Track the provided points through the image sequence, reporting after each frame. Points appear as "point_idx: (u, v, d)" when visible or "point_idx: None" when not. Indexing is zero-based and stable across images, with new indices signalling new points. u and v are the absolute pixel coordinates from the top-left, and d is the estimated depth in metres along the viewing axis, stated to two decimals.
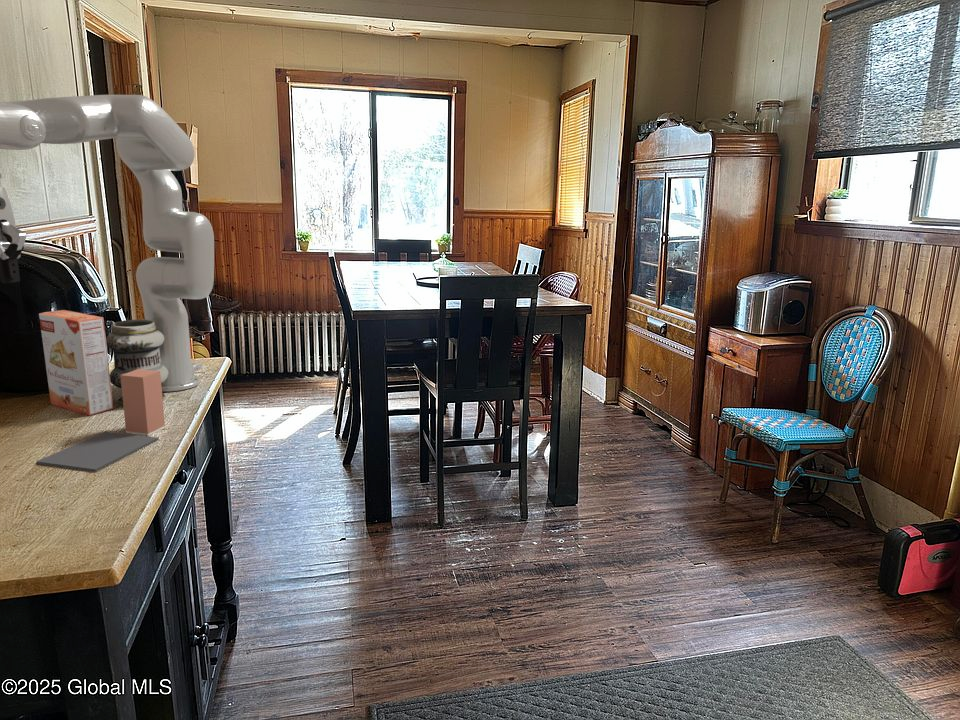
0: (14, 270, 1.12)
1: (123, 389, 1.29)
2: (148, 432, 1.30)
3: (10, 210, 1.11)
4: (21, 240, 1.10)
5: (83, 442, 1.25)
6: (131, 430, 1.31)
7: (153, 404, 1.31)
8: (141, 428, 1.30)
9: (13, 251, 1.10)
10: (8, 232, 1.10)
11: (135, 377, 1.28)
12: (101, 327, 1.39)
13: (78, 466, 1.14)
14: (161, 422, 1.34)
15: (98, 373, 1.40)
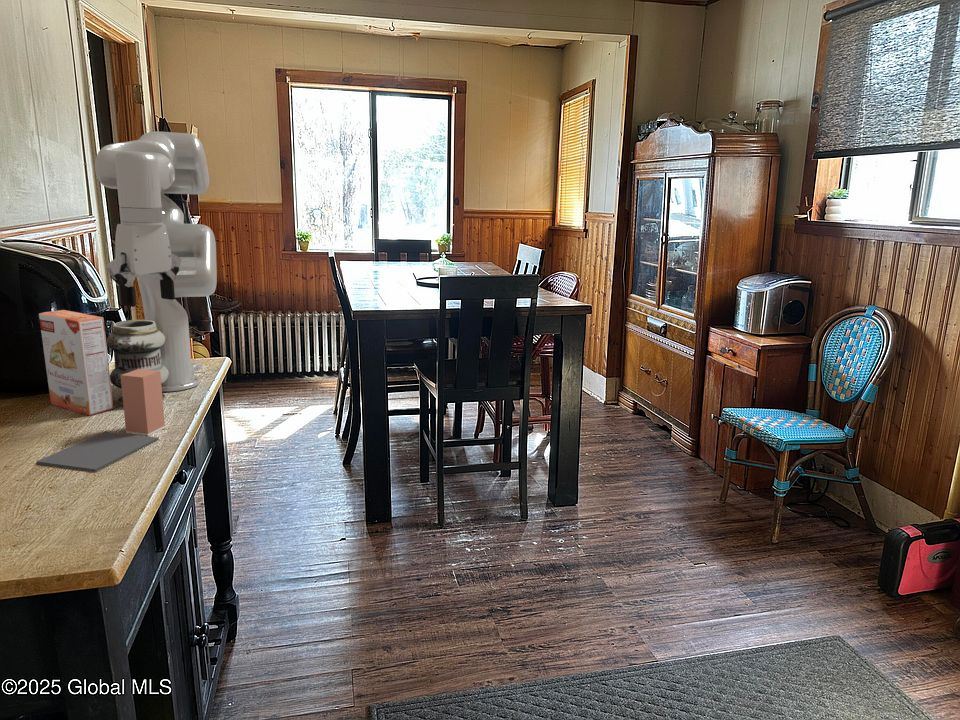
0: None
1: (123, 389, 1.29)
2: (148, 432, 1.30)
3: None
4: None
5: (83, 442, 1.25)
6: (131, 430, 1.31)
7: (153, 404, 1.31)
8: (141, 428, 1.30)
9: (177, 272, 1.39)
10: (172, 258, 1.38)
11: (135, 377, 1.28)
12: (101, 327, 1.39)
13: (78, 466, 1.14)
14: (161, 422, 1.34)
15: (98, 373, 1.40)
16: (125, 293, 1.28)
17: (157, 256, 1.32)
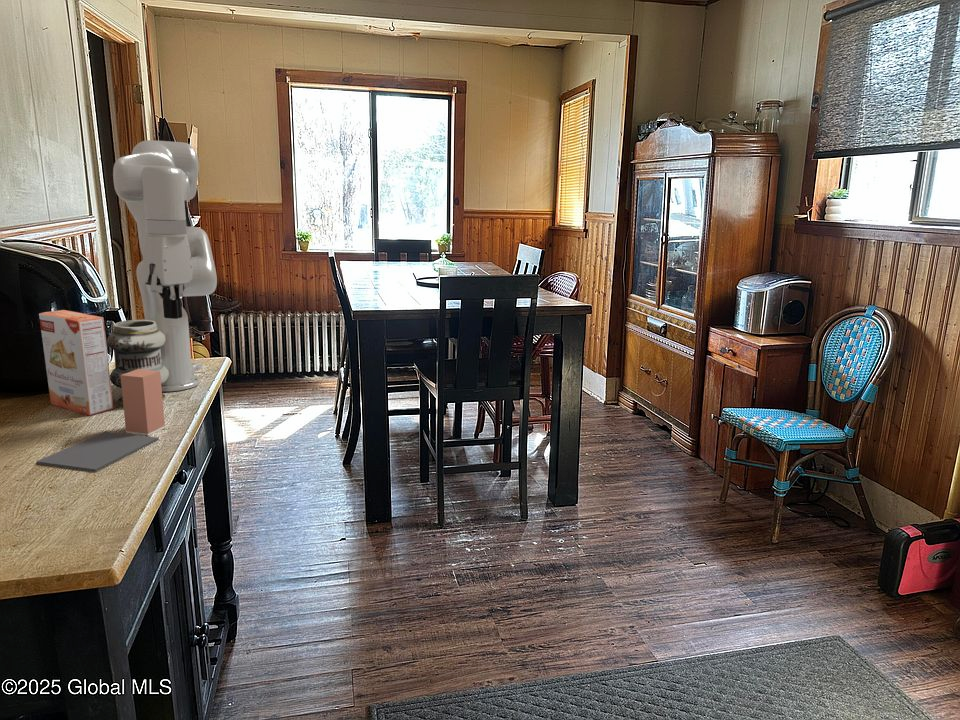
0: None
1: (123, 389, 1.29)
2: (148, 432, 1.30)
3: None
4: None
5: (83, 442, 1.25)
6: (131, 430, 1.31)
7: (153, 404, 1.31)
8: (141, 428, 1.30)
9: (182, 290, 1.39)
10: None
11: (135, 377, 1.28)
12: (101, 327, 1.39)
13: (78, 466, 1.14)
14: (161, 422, 1.34)
15: (98, 373, 1.40)
16: (169, 306, 1.36)
17: (182, 267, 1.36)
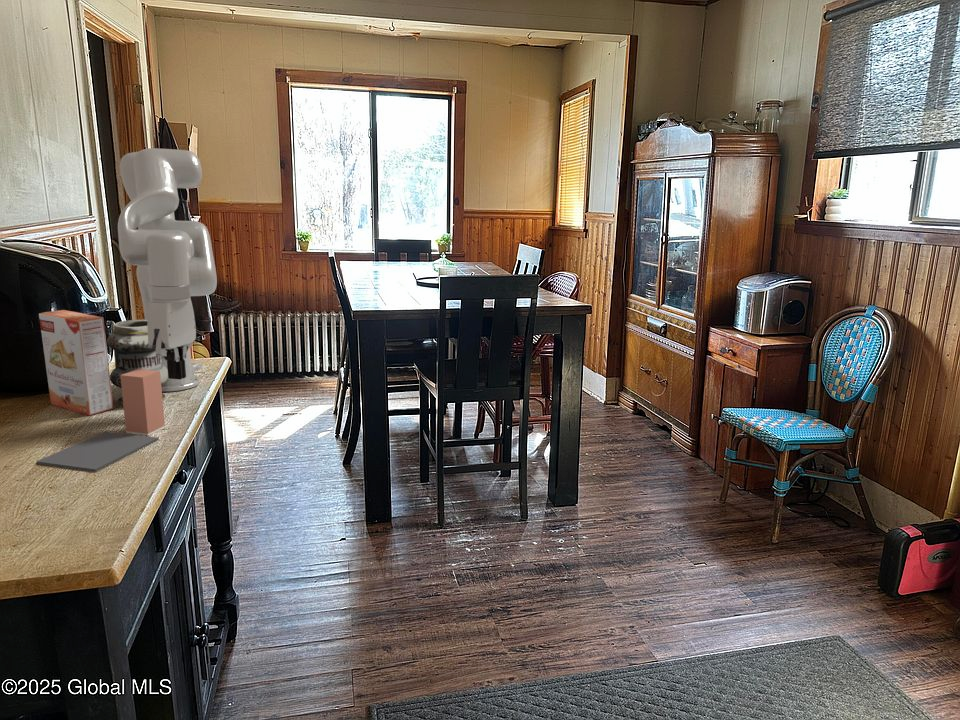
0: None
1: (123, 389, 1.29)
2: (148, 432, 1.30)
3: None
4: None
5: (83, 442, 1.25)
6: (131, 430, 1.31)
7: (153, 404, 1.31)
8: (141, 428, 1.30)
9: None
10: None
11: (135, 377, 1.28)
12: (101, 327, 1.39)
13: (78, 466, 1.14)
14: (161, 422, 1.34)
15: (98, 373, 1.40)
16: (174, 367, 1.39)
17: (186, 329, 1.39)
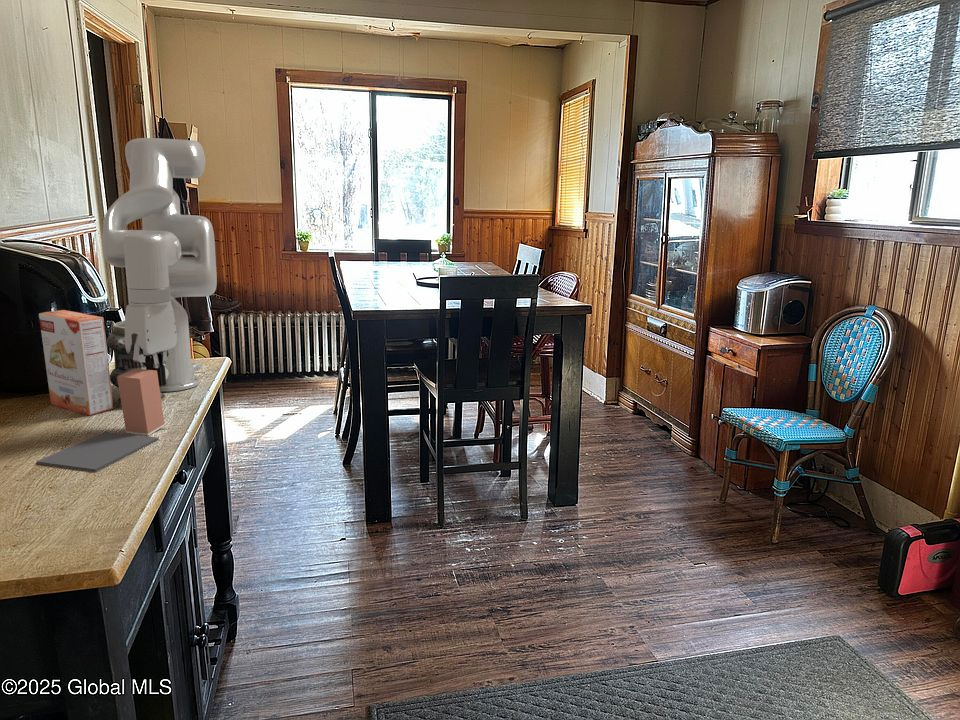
0: None
1: (121, 390, 1.28)
2: (148, 432, 1.30)
3: None
4: None
5: (83, 442, 1.25)
6: (131, 430, 1.31)
7: (152, 404, 1.31)
8: (141, 428, 1.30)
9: (166, 357, 1.36)
10: None
11: (132, 378, 1.27)
12: (101, 327, 1.39)
13: (78, 466, 1.14)
14: (160, 421, 1.34)
15: (98, 373, 1.40)
16: None
17: (165, 334, 1.33)
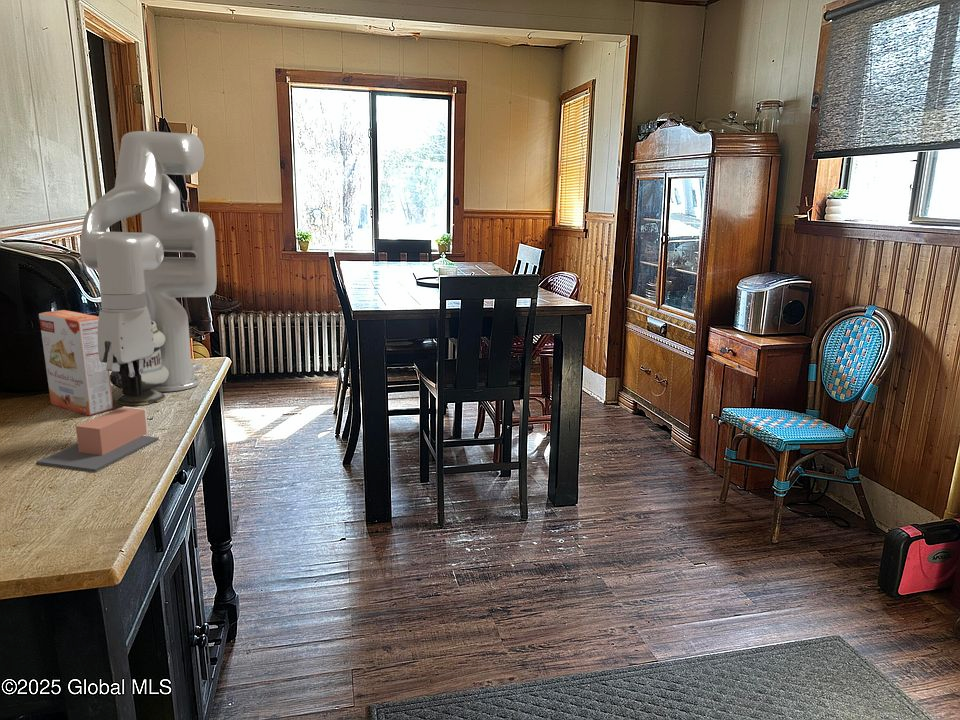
0: None
1: None
2: (145, 433, 1.30)
3: None
4: None
5: None
6: None
7: (126, 431, 1.24)
8: None
9: (143, 365, 1.30)
10: None
11: (95, 453, 1.19)
12: None
13: (78, 466, 1.14)
14: (141, 415, 1.28)
15: (98, 373, 1.40)
16: (128, 383, 1.26)
17: (141, 341, 1.26)
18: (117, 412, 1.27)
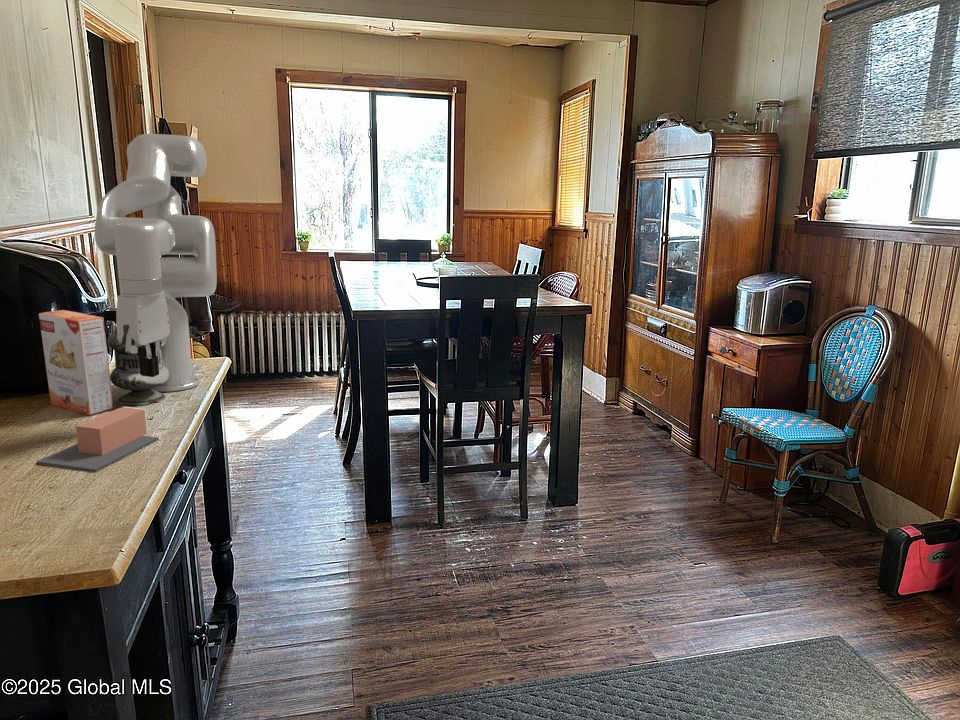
0: None
1: None
2: (145, 433, 1.30)
3: None
4: None
5: None
6: None
7: (126, 431, 1.24)
8: None
9: (159, 346, 1.35)
10: None
11: (95, 453, 1.19)
12: (101, 327, 1.39)
13: (78, 466, 1.14)
14: (141, 415, 1.28)
15: (98, 373, 1.40)
16: (146, 365, 1.32)
17: (158, 324, 1.32)
18: (117, 412, 1.27)
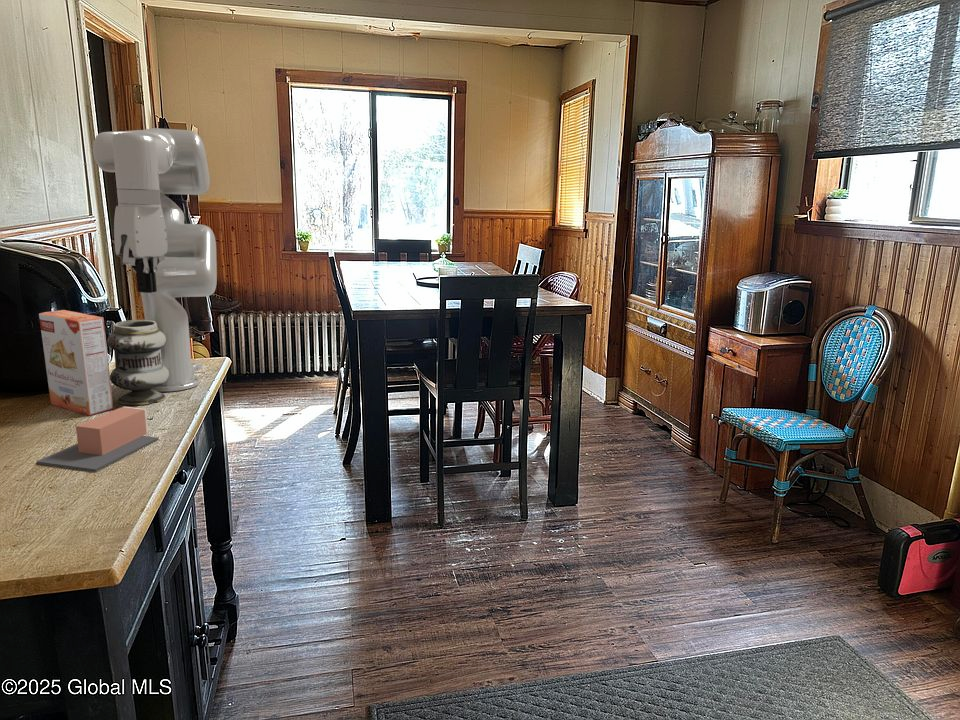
0: None
1: None
2: (145, 433, 1.30)
3: None
4: None
5: None
6: None
7: (126, 431, 1.24)
8: None
9: (157, 264, 1.35)
10: None
11: (95, 453, 1.19)
12: (101, 327, 1.39)
13: (78, 466, 1.14)
14: (141, 415, 1.28)
15: (98, 373, 1.40)
16: (143, 279, 1.32)
17: (156, 239, 1.32)
18: (117, 412, 1.27)
